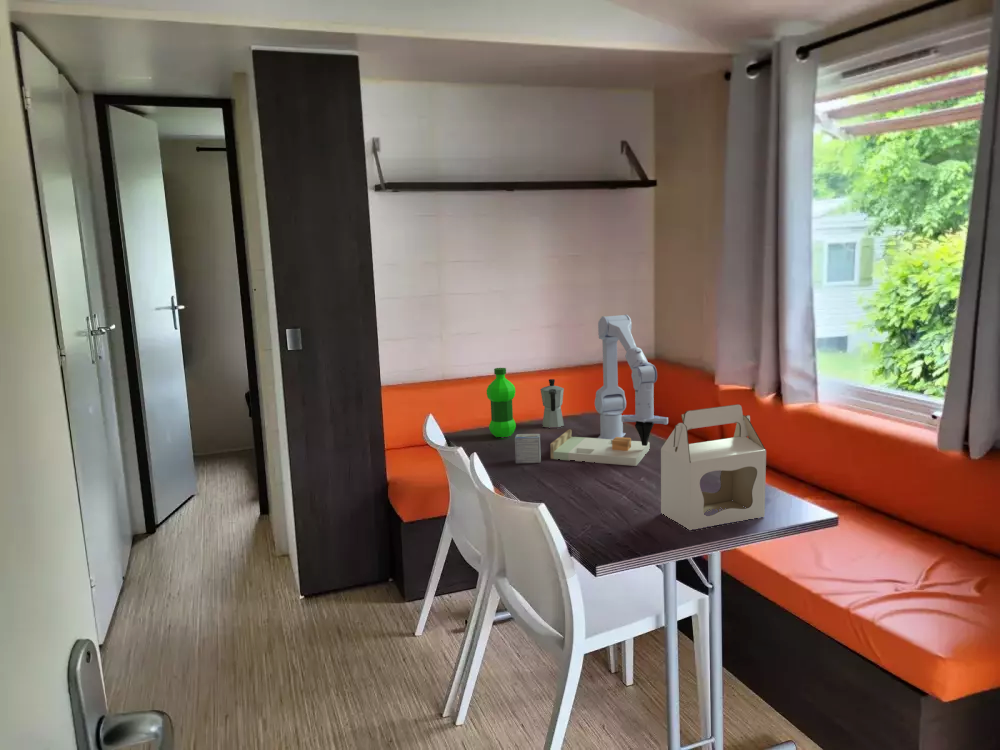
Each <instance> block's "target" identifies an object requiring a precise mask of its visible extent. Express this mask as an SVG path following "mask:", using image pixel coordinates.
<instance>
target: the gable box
mask: <svg viewBox="0 0 1000 750" xmlns="http://www.w3.org/2000/svg"><path fill="white" fill-rule="evenodd" d="M680 417H681V419H682V422H678V423H677V424H675V425H674V429H673V430H672V432H671V433H670V435H669V436H668V438H667V439H666V441H665V442H664V444H663V445H662V446H661V448H660V514H661V513H662V514H661V515H663V514H664V515H665V516H664V515H663V516H664V517H666V516H667V517H668V518H667V517H666V518H667V519H669V518H670V519H669V520H671V519H672V520H674V521H676V522H678V523H679V524H681V525H683V526H684V527H686V528H687V529H689V530H692V529H698V528H703V527H707V526H714V525H719V524H724V523H730V522H736V521H743V520H748V519H753V520H755V519H754V518H758V519H760V518H759V517H764V516H766V515H765V514H766V510H765V509H766V476H767V475H766V473H767V472H766V470H767V467H766V466H767V449H766V448H765V445H764V444H763V442H762V440H761V438H760V437H759V435H758V433H757V432H756V430H755V428H754V426H753V424H752V422H751V415H749V414H748V415H745V414H744V413H743V407H742V405H740V404H737V403H736V404H730V405H723V406H715V407H706V408H700V409H699V408H698V409H693V410H686V411H685V412H684V413H682V414H681V415H680ZM728 424H736V425H735V430H734V433H733V437H727V438H721V439H714V440H707V441H700V442H694V443H693V442H692V443H689V435H688V433H689V432H688V431H689V430H690V431H691V430H692V429H698V428H699V429H700V428H705V427H706V428H708V427H713V426H720V425H728ZM717 471H721V472H720V475H719V481H720V488H719V489H718V491H716V492H708V491H703V490H702V489H701V479H702V477H703V476H704V475H706V474H707V473H711V472H717ZM732 500H733V501H732ZM743 506H744V507H743ZM720 507H721V508H722V509H723V510H722V509H721V508H720ZM745 507H746V508H745ZM725 508H726V509H725ZM709 509H710V510H711V511H712V509H714V510H715V509H717V510H718V512H717V513H715V514H713V515H710V516H706V515H704V513H705V512H706V511H707V510H708V511H710V510H709ZM719 509H721V511H719ZM708 511H707V512H708ZM711 511H710V512H711ZM715 511H716V510H715ZM764 518H765V517H764ZM672 520H671V521H672ZM674 521H673V522H674ZM748 521H749V520H748ZM743 522H744V521H743ZM679 524H678V525H679ZM684 527H683V528H684ZM687 529H686V530H687Z"/></svg>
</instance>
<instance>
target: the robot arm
mask: <svg viewBox="0 0 1000 750" xmlns="http://www.w3.org/2000/svg"><path fill="white" fill-rule="evenodd" d="M632 323H633V322H632V319H631V317H630V316H629V315H628V314H621V315H609V316H605V315H603V316H601V317H600V318H599V320H598V323H597V329H598V330H597V331H598V332H597V333H598V339H600V340H601V341H602V374H603V375H602V377H603V379H602V380H603V385H602V386H601V387H600V388H598V389H597V390H596V392H595V399H594V407H595V408H594V409H595V410H596V412H597V413H598V414H599V417H600V418H599V420H600V423H599V425H600V430H599V431H600V435H598V437H597V438H599V439H614V438H615V437H625V435H626V432H624V424H623V423H635V424H634V427H635V429H636V431H637V433H638V435H639V436H638V437H640V441H641V442H642V446H647V444H648V442H649V438H650V434H651V431H652V430H653V427H654V426H655V424H660V425H666V426H667V425H668V424H669V417H667V416H659V415H654V414H655V413H654V412H655V408H654V403H655V402H654V401H655V400H654V397H655V396H654V395H655V393H654V389H655V388H654V387H655V383H656V382H657V380H658V371H657V368H656V366H655V364H652V363H651V362H648V359H647V357H646V355H645V354H644V352H643V349H642V348H640V347H637V344H636V341H635V339H634V337H633V335H632V329H633V328H632ZM618 341H619V343H620V344H621V346H622V347H623V348H624V350H625V352H626V353H625V360H626V361H627V364H628V365H629V369H630V370H631V379H632V385H633V389H634V391H635V392H634V393H635V394H634V396H635V397H634V398H635V399H634V402H635V403H634V404H635V406H634V407H635V411H634V413H635V414H623V413H624V411H625V410H626V408H627V400H626V395H625V390H623V388H622V387H620V386H619V384H618V383H619V376H618V375H619V374H618V373H619V372H618V371H619V370H618ZM622 414H623V415H622Z"/></svg>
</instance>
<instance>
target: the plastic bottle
mask: <svg viewBox="0 0 1000 750" xmlns="http://www.w3.org/2000/svg"><path fill="white" fill-rule="evenodd" d="M493 371H494V373H493V374H494V375H495V379H494V380H492V381H491V382H490V384H489V385H487V388H486V396H487V399H488V400H489V401H490V418H491V420H490V421H489V425H488V429H489V432H490V433H491V435H493V436H494V437H495V438H497V437H508V436H510V437H511V436H512V435H513V434H514V432H515V431H516V428H517V424H516V421H515V419H514V412H513V410H514V409H513V399H515V396H516V387H515V385H514V384H513V382H511V381H510V380H508V379H507V378H506V375H507V368H506V367H496V368H494V369H493ZM508 438H509V437H508Z"/></svg>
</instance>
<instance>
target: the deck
mask: <svg viewBox="0 0 1000 750" xmlns="http://www.w3.org/2000/svg"><path fill="white" fill-rule="evenodd" d="M572 431H573V430H572V429H567V430H566V431H565V432H564V433H562V434H561V435H560V436H559V437H557V438H556V439H554V440H552V442H551V443H550V447H549V448H550V459H551V460H558V459H560V460H561V461H570V460H575V461H574V462H582V461H585V463H594V462H595V463H597V464H608V465H609V464H610V465H619V466H630V467H631V466H632V467H633V466H634V467H636V466H638V465H639V463H640V462H641V461H642V459H644V457H645V456H646V455H647V454H648V452H649V451H650V450H649V449H651V448H650V447H651V446H650V444H651V443H650V441H648V444H647V446H642V442H641V440H631V447H630V449H629V450H628V451H624V450H612V440H613V439H599V438H598V437H583V436H573V435H572V434H573V433H572ZM645 454H646V455H645ZM560 460H559V461H560Z"/></svg>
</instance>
